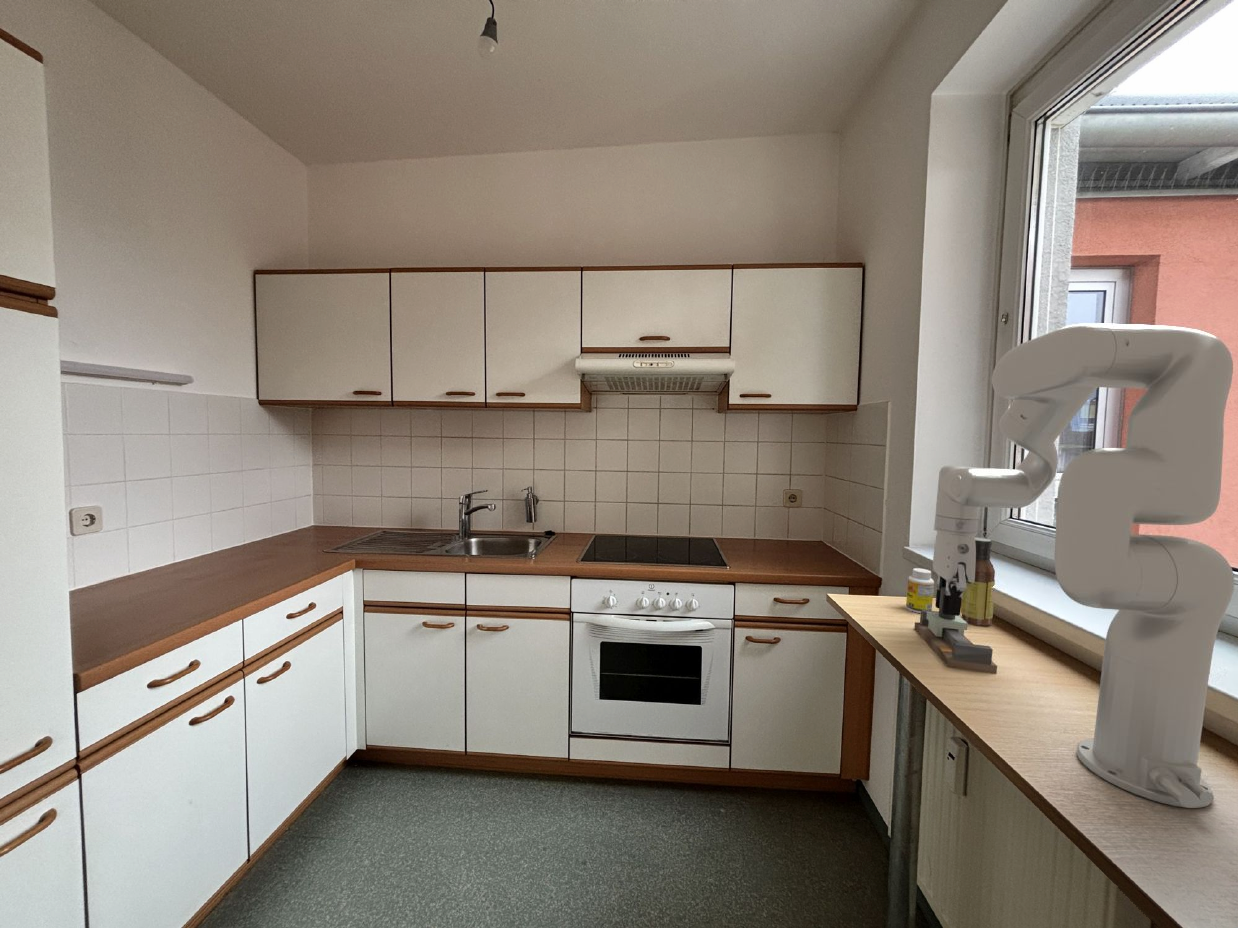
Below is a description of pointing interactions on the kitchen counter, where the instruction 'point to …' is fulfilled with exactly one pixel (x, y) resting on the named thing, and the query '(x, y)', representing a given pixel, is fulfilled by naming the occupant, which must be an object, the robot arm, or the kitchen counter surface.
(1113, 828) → the kitchen counter surface
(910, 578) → the supplement bottle
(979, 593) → the sauce bottle
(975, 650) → the rail base
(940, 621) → the carriage
